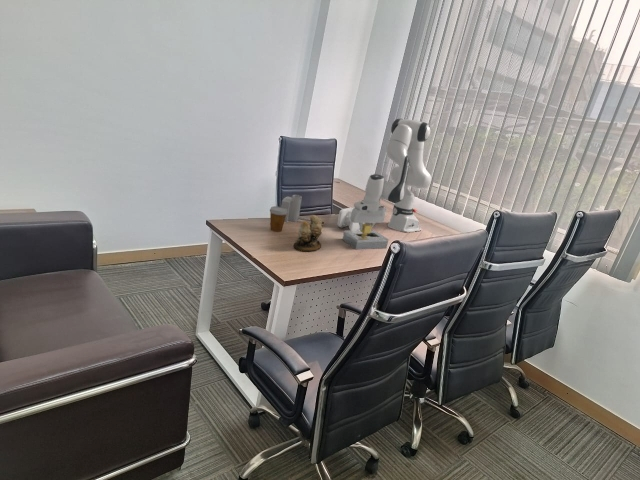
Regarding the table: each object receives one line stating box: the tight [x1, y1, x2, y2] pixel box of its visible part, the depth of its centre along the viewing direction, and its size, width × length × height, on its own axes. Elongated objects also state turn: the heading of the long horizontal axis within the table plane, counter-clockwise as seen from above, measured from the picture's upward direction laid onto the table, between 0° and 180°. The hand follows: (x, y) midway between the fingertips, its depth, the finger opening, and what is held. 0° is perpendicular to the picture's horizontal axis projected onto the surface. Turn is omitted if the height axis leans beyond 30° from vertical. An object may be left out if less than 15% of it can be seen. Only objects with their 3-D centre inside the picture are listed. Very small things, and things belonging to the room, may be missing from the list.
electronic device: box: [280, 194, 325, 225], centre depth 237 cm, size 12×26×15 cm, turn 81°
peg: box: [360, 223, 373, 236], centre depth 219 cm, size 4×4×10 cm
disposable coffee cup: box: [269, 206, 287, 233], centre depth 218 cm, size 10×10×12 cm
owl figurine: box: [293, 214, 323, 253], centre depth 201 cm, size 18×12×17 cm, turn 148°
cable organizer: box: [336, 206, 366, 231], centre depth 241 cm, size 15×11×12 cm
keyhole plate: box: [342, 229, 389, 250], centre depth 221 cm, size 20×14×5 cm
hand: (365, 230), depth 218 cm, fingers closed on peg, 4 cm apart
